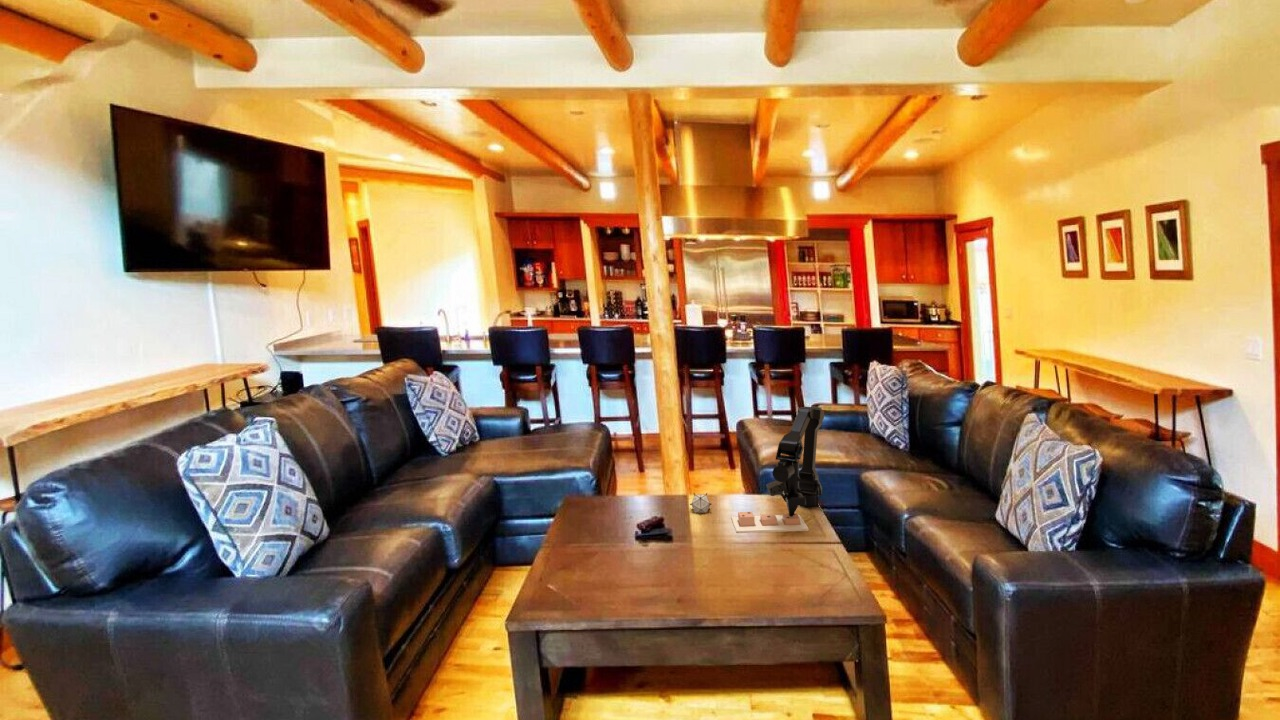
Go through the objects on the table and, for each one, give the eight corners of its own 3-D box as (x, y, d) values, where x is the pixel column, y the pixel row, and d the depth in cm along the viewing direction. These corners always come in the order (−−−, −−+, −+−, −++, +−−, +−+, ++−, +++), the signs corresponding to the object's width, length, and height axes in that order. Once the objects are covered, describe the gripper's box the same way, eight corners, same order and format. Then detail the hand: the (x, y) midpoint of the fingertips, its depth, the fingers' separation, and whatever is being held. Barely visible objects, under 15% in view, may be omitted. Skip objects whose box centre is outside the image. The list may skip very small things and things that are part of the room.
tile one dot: (774, 524, 219) (774, 513, 218) (777, 530, 214) (777, 518, 213) (760, 524, 219) (760, 514, 218) (763, 530, 214) (763, 519, 214)
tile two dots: (752, 522, 219) (752, 511, 218) (754, 527, 214) (754, 516, 213) (738, 522, 219) (738, 511, 218) (740, 528, 214) (740, 517, 214)
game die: (696, 523, 233) (681, 500, 235) (713, 511, 236) (699, 489, 238) (702, 519, 225) (687, 496, 227) (720, 507, 227) (705, 484, 230)
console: (799, 519, 223) (799, 514, 223) (808, 534, 210) (808, 528, 210) (731, 521, 223) (731, 516, 223) (736, 536, 210) (736, 531, 210)
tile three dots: (796, 523, 219) (796, 512, 218) (799, 529, 214) (799, 518, 213) (782, 524, 219) (782, 513, 218) (785, 529, 214) (785, 518, 213)
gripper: (762, 466, 223) (763, 507, 225) (773, 483, 205) (774, 527, 207) (793, 465, 223) (793, 506, 225) (806, 482, 205) (806, 526, 207)
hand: (791, 515), depth 216 cm, fingers closed, pressing on tile three dots
